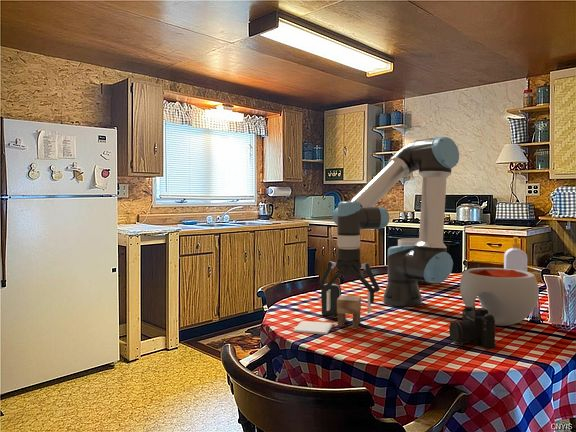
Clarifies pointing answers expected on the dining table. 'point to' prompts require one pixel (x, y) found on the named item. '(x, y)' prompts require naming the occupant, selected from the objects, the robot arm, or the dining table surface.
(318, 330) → the mat
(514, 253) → the soap bottle
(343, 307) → the stool
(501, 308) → the pot
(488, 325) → the camera
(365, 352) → the dining table surface
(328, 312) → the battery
